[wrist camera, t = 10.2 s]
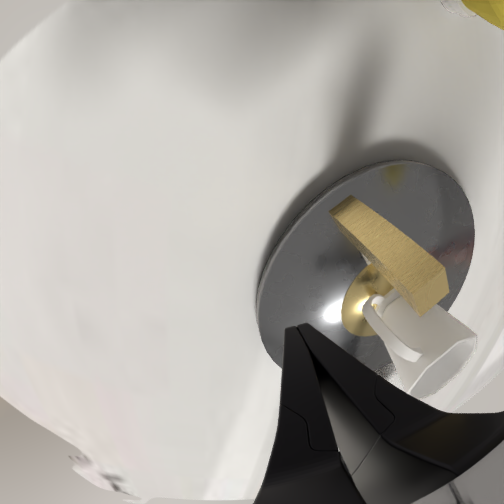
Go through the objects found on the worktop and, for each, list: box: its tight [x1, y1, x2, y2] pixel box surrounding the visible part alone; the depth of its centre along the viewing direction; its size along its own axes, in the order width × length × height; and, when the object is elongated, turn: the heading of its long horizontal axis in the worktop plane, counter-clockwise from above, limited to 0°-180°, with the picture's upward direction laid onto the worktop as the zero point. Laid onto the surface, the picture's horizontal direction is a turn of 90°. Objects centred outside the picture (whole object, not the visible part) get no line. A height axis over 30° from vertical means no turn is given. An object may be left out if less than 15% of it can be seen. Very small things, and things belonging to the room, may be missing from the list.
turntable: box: [256, 160, 475, 371], centre depth 19 cm, size 22×22×10 cm
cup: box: [362, 288, 477, 400], centre depth 19 cm, size 7×10×8 cm
